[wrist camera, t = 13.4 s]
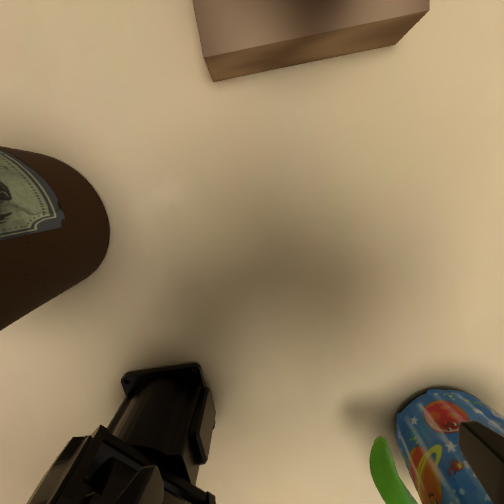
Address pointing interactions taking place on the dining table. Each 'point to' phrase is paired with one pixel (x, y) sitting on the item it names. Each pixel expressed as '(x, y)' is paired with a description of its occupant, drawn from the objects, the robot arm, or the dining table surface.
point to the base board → (296, 31)
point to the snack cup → (433, 450)
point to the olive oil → (45, 231)
